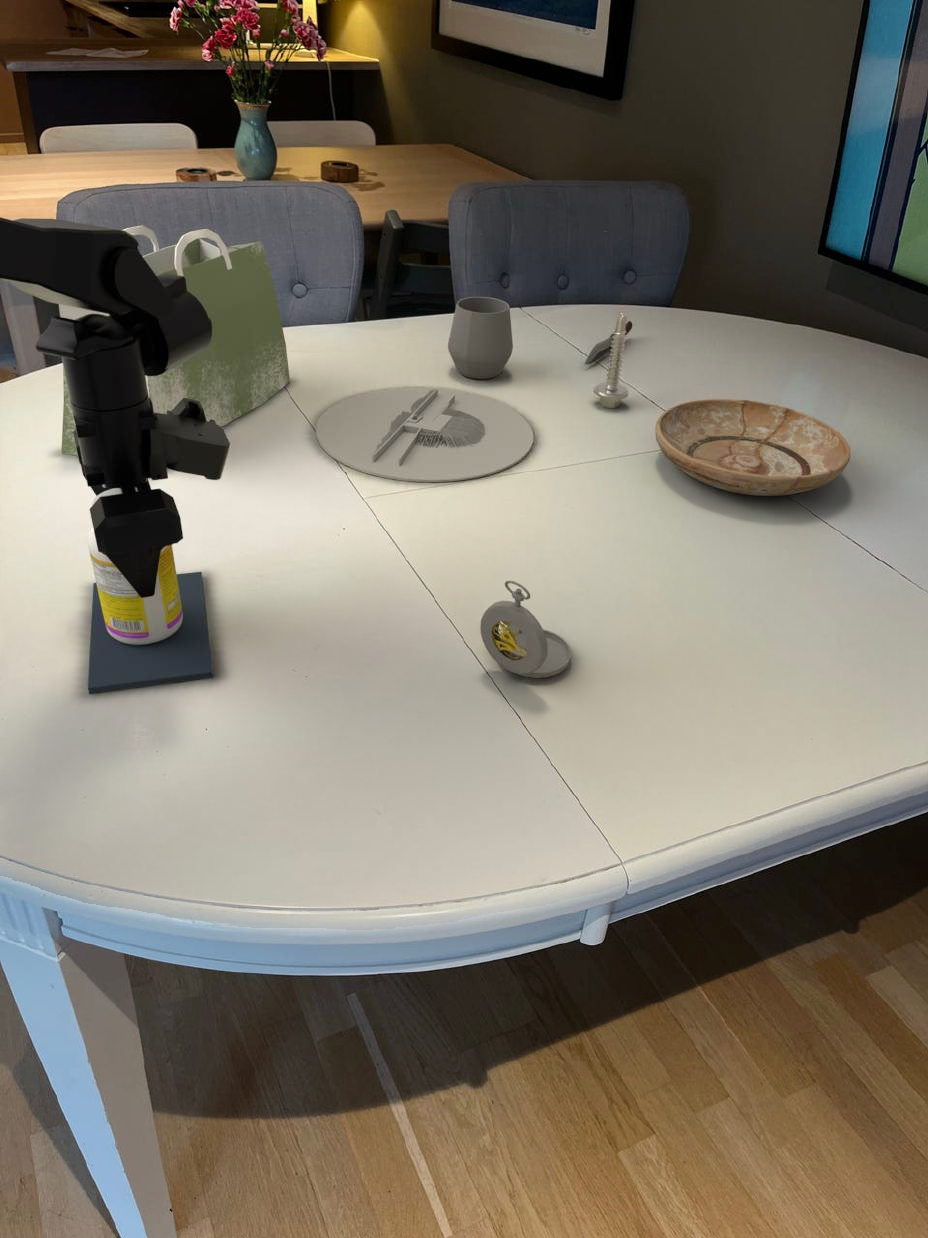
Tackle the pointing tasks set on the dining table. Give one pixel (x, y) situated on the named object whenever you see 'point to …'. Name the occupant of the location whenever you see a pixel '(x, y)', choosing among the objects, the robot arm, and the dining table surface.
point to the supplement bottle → (136, 597)
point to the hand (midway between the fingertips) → (139, 567)
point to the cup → (481, 337)
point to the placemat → (153, 647)
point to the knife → (604, 347)
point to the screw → (614, 368)
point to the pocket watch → (522, 639)
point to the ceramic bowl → (751, 446)
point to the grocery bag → (214, 331)
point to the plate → (424, 434)
